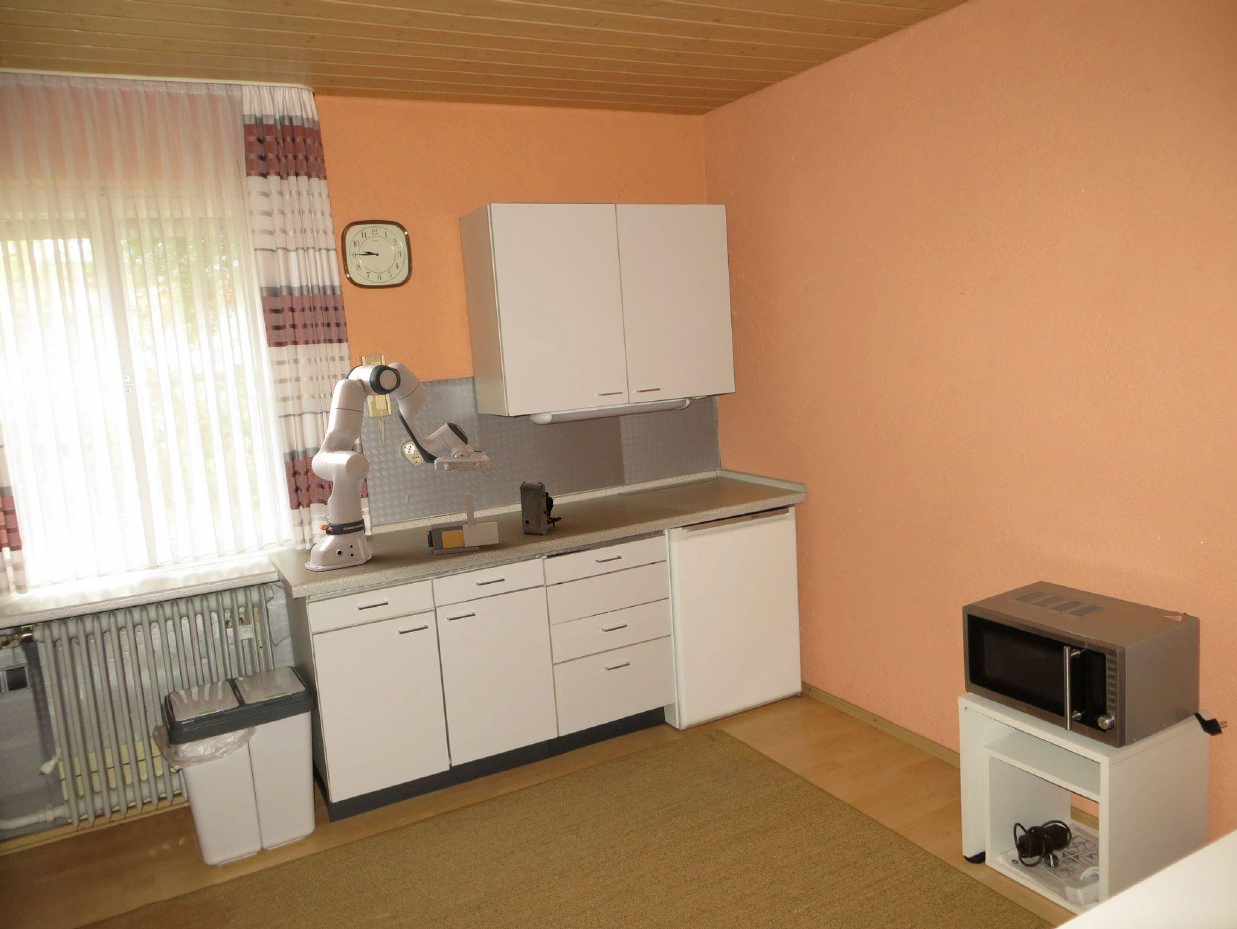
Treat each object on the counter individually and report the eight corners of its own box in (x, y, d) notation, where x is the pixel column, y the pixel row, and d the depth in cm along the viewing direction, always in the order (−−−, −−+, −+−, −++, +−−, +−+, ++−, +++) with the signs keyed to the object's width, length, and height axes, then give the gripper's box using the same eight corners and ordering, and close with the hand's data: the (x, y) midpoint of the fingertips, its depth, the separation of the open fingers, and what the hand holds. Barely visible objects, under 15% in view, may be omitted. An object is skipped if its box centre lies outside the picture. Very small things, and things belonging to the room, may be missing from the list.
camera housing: (429, 555, 316) (426, 527, 314) (429, 549, 325) (426, 522, 324) (479, 549, 319) (477, 522, 317) (478, 543, 328) (476, 517, 327)
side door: (464, 547, 317) (459, 494, 315) (464, 546, 319) (459, 493, 317) (498, 543, 319) (494, 491, 317) (498, 542, 321) (494, 490, 319)
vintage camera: (566, 528, 347) (562, 477, 345) (543, 535, 334) (539, 482, 332) (545, 527, 352) (542, 477, 350) (522, 535, 339) (518, 482, 337)
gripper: (434, 452, 338) (432, 460, 324) (489, 451, 341) (490, 459, 328) (434, 468, 339) (433, 477, 326) (489, 467, 342) (490, 476, 329)
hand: (462, 468), depth 327 cm, fingers open, 8 cm apart
